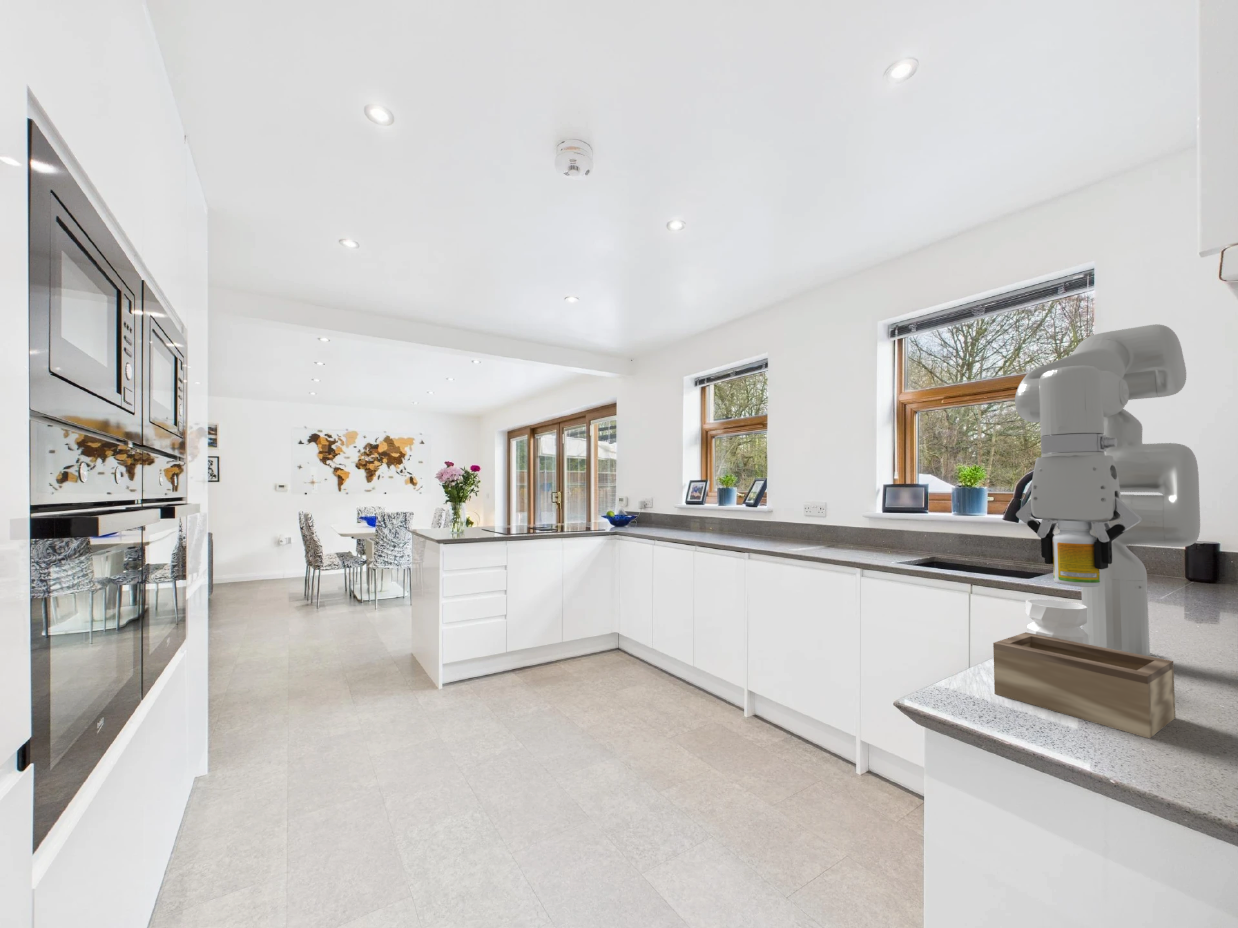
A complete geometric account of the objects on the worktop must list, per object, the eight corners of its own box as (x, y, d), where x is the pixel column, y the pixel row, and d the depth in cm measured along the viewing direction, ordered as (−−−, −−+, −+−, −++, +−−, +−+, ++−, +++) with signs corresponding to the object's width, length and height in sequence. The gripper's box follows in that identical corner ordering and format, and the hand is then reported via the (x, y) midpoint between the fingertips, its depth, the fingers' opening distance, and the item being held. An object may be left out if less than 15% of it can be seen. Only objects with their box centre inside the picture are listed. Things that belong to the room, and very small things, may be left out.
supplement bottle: (1109, 588, 79) (1106, 521, 79) (1067, 586, 80) (1065, 521, 80) (1085, 581, 84) (1083, 519, 84) (1046, 580, 85) (1044, 519, 86)
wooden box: (1027, 679, 92) (1025, 632, 92) (1175, 717, 77) (1173, 660, 77) (994, 693, 85) (993, 642, 86) (1149, 738, 70) (1147, 676, 71)
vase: (1048, 661, 102) (1046, 597, 103) (1102, 676, 94) (1099, 607, 94) (1015, 665, 99) (1013, 600, 100) (1068, 682, 91) (1065, 610, 91)
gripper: (1155, 445, 78) (1160, 571, 77) (1017, 451, 92) (1020, 557, 91) (1139, 442, 74) (1144, 576, 73) (997, 449, 88) (1000, 561, 87)
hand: (1075, 564), depth 82 cm, fingers closed on supplement bottle, 5 cm apart
